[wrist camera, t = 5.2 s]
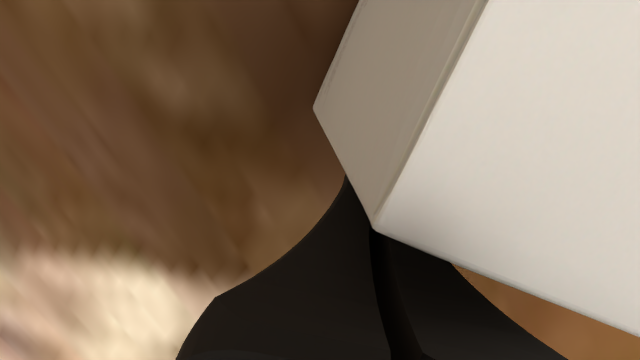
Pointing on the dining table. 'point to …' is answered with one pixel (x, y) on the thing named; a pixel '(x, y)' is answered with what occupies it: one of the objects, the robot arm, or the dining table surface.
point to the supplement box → (499, 140)
